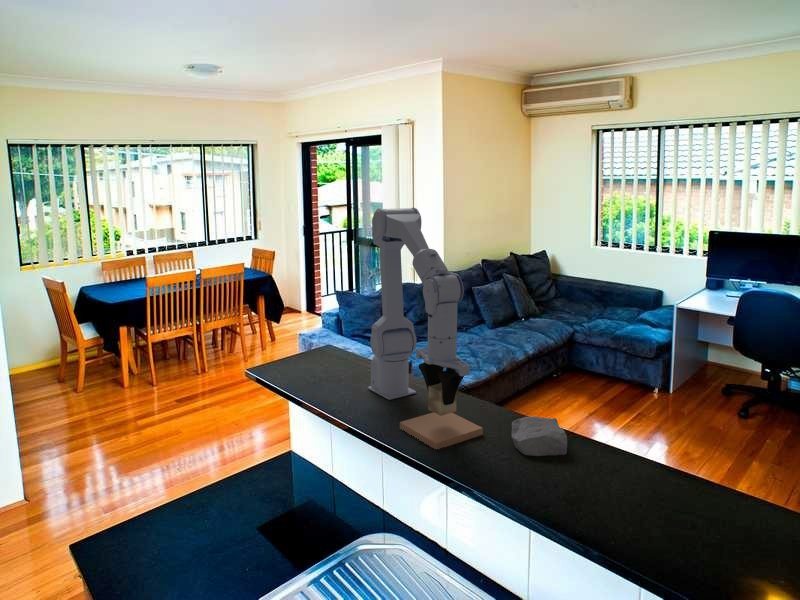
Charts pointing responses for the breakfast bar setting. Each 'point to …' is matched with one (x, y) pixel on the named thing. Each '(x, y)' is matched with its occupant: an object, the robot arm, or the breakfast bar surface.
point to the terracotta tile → (441, 429)
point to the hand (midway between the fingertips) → (441, 400)
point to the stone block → (539, 436)
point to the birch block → (439, 401)
